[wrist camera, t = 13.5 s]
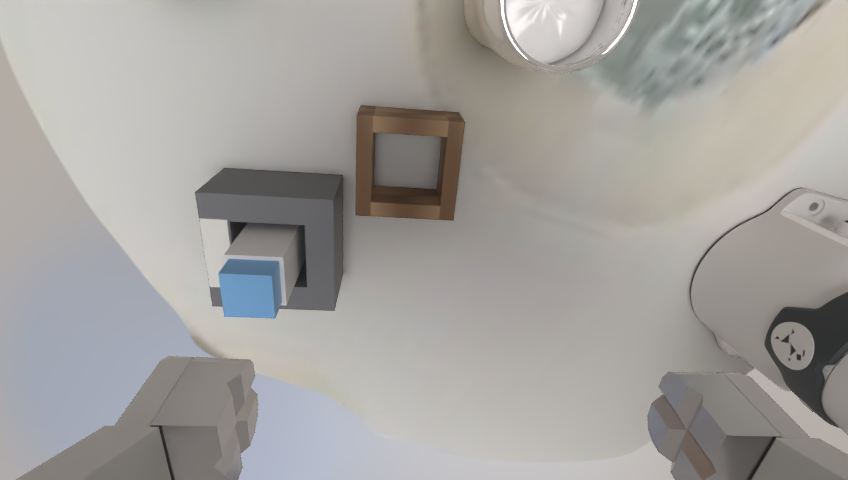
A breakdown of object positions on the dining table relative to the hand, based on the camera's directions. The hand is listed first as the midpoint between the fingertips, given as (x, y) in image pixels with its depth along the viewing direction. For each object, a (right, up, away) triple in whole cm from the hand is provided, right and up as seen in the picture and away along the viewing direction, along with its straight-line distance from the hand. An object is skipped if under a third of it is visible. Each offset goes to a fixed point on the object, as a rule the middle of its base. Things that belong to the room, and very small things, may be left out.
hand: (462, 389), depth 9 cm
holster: (-2, +10, +30) cm, 31 cm away
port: (-13, +4, +32) cm, 35 cm away
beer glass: (+5, +21, +25) cm, 33 cm away
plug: (-13, +5, +32) cm, 35 cm away
